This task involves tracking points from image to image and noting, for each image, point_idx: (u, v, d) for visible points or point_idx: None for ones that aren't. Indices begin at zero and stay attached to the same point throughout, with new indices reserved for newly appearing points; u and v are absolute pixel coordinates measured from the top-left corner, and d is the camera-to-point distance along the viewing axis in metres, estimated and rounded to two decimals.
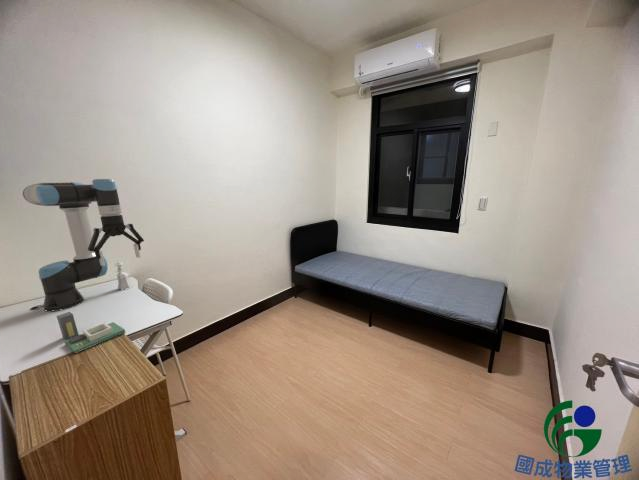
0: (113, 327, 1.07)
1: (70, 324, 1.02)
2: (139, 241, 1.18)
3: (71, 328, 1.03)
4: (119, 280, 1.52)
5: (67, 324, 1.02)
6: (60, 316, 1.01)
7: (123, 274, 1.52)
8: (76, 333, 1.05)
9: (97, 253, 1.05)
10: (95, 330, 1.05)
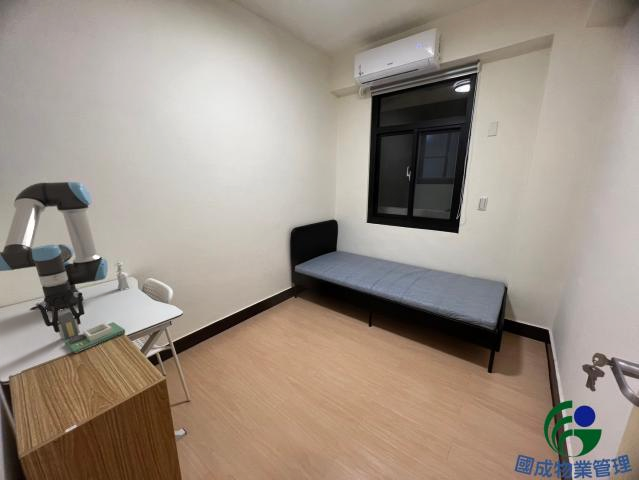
0: (113, 327, 1.07)
1: (70, 324, 1.02)
2: (78, 315, 1.06)
3: (71, 328, 1.03)
4: (119, 280, 1.52)
5: (67, 324, 1.02)
6: (60, 316, 1.01)
7: (123, 274, 1.52)
8: (76, 333, 1.05)
9: (55, 327, 1.00)
10: (95, 330, 1.05)
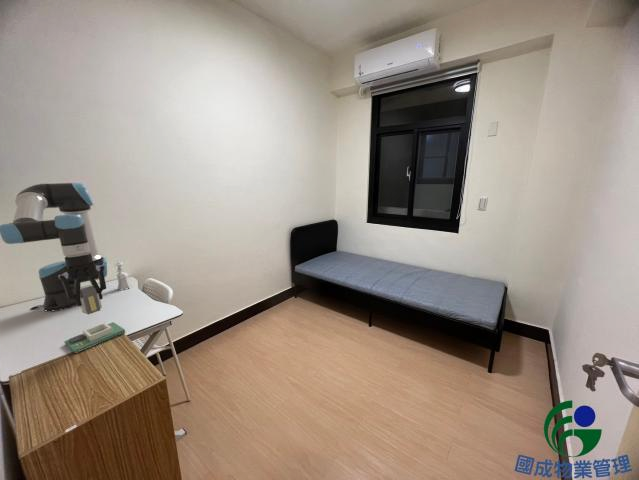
0: (113, 327, 1.07)
1: (92, 298, 0.98)
2: (100, 289, 1.02)
3: (93, 302, 0.99)
4: (119, 280, 1.52)
5: (89, 298, 0.98)
6: (82, 289, 0.97)
7: (123, 274, 1.52)
8: (98, 308, 1.01)
9: (78, 300, 0.96)
10: (95, 330, 1.05)
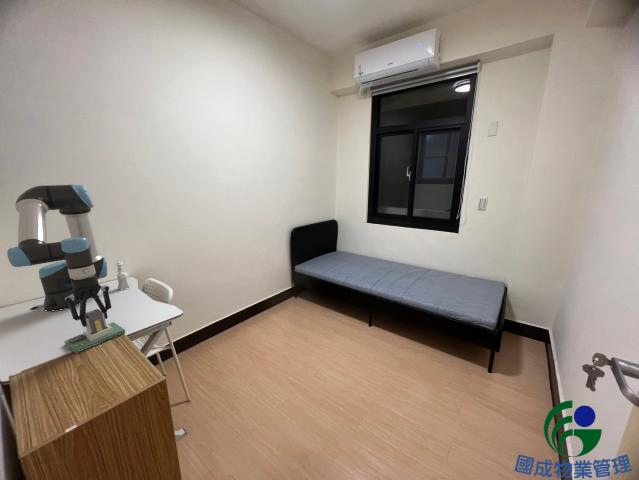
0: (113, 327, 1.07)
1: (99, 321, 1.01)
2: (105, 309, 1.04)
3: (99, 325, 1.01)
4: (119, 280, 1.52)
5: (96, 321, 1.00)
6: (89, 313, 1.00)
7: (123, 274, 1.52)
8: None
9: (83, 321, 0.98)
10: None
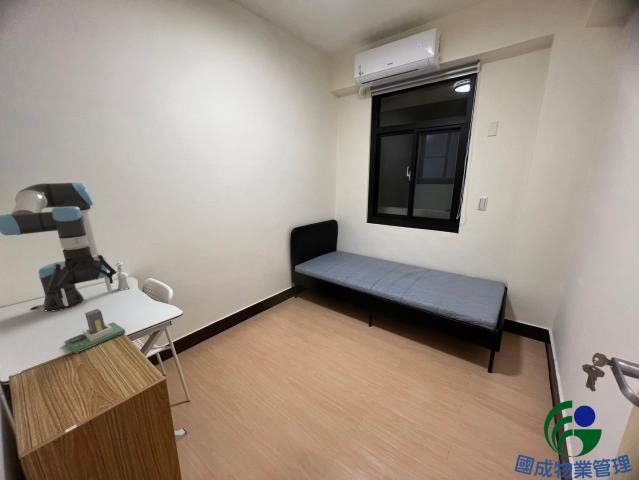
0: (113, 327, 1.07)
1: (99, 321, 1.01)
2: (111, 273, 1.05)
3: (99, 325, 1.01)
4: (119, 280, 1.52)
5: (96, 321, 1.00)
6: (89, 313, 1.00)
7: (123, 274, 1.52)
8: None
9: (58, 292, 0.92)
10: None
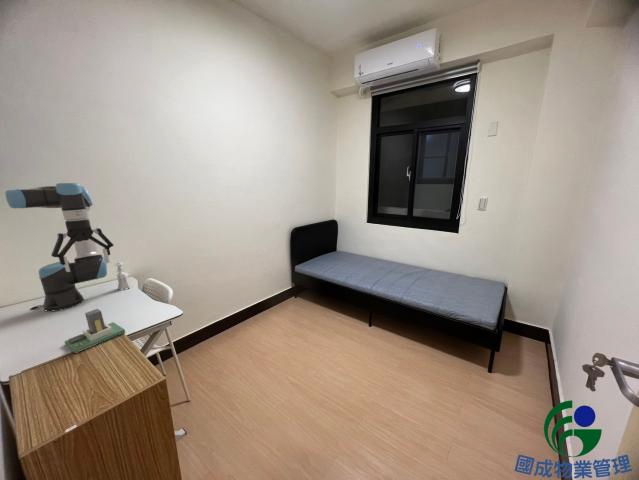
0: (113, 327, 1.07)
1: (99, 321, 1.01)
2: (108, 246, 1.16)
3: (99, 325, 1.01)
4: (119, 280, 1.52)
5: (96, 321, 1.00)
6: (89, 313, 1.00)
7: (123, 274, 1.52)
8: None
9: (61, 259, 1.03)
10: None
